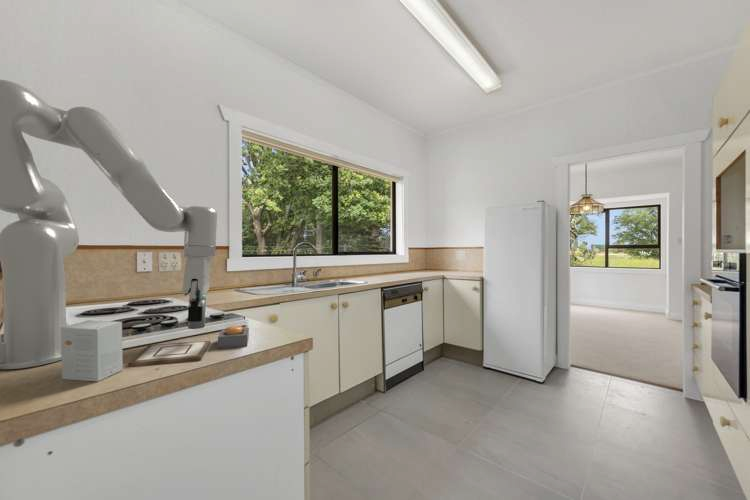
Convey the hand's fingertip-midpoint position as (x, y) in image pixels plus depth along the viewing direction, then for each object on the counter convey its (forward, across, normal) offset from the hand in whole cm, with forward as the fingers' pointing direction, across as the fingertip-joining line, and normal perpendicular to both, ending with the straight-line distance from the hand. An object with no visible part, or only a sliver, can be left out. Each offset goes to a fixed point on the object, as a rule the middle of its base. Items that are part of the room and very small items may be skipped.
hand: (196, 318), depth 85 cm
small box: (+7, +18, -15) cm, 24 cm away
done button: (+4, +4, +10) cm, 11 cm away
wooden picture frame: (+6, +9, -3) cm, 11 cm away
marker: (+2, 0, 0) cm, 2 cm away
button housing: (+6, +4, +10) cm, 12 cm away
